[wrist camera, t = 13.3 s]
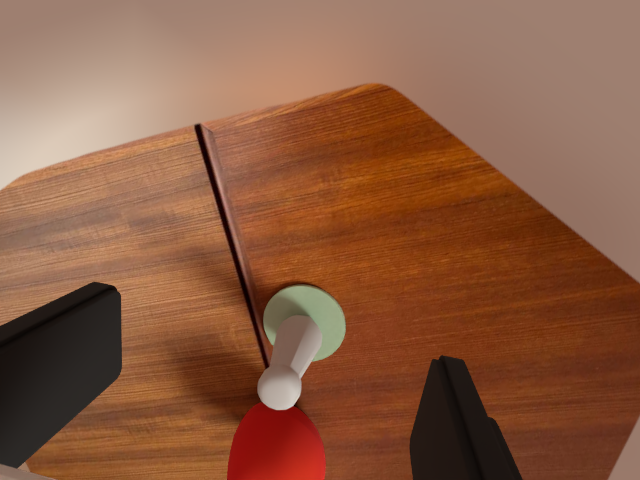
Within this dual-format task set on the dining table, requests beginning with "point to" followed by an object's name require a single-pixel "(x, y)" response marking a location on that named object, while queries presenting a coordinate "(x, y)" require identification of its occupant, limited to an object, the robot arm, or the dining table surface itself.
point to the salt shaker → (289, 361)
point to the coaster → (307, 304)
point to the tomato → (276, 446)
